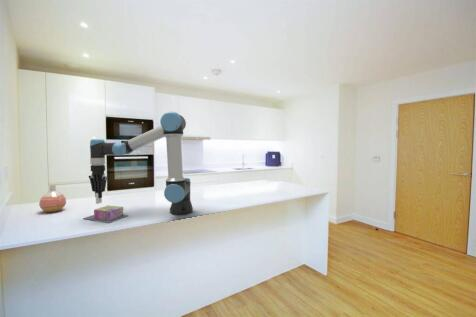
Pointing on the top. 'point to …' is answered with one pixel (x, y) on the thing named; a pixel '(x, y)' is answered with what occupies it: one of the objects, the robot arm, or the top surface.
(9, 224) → the top surface
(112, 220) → the mat
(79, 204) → the top surface
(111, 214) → the box
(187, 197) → the robot arm
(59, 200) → the vase
